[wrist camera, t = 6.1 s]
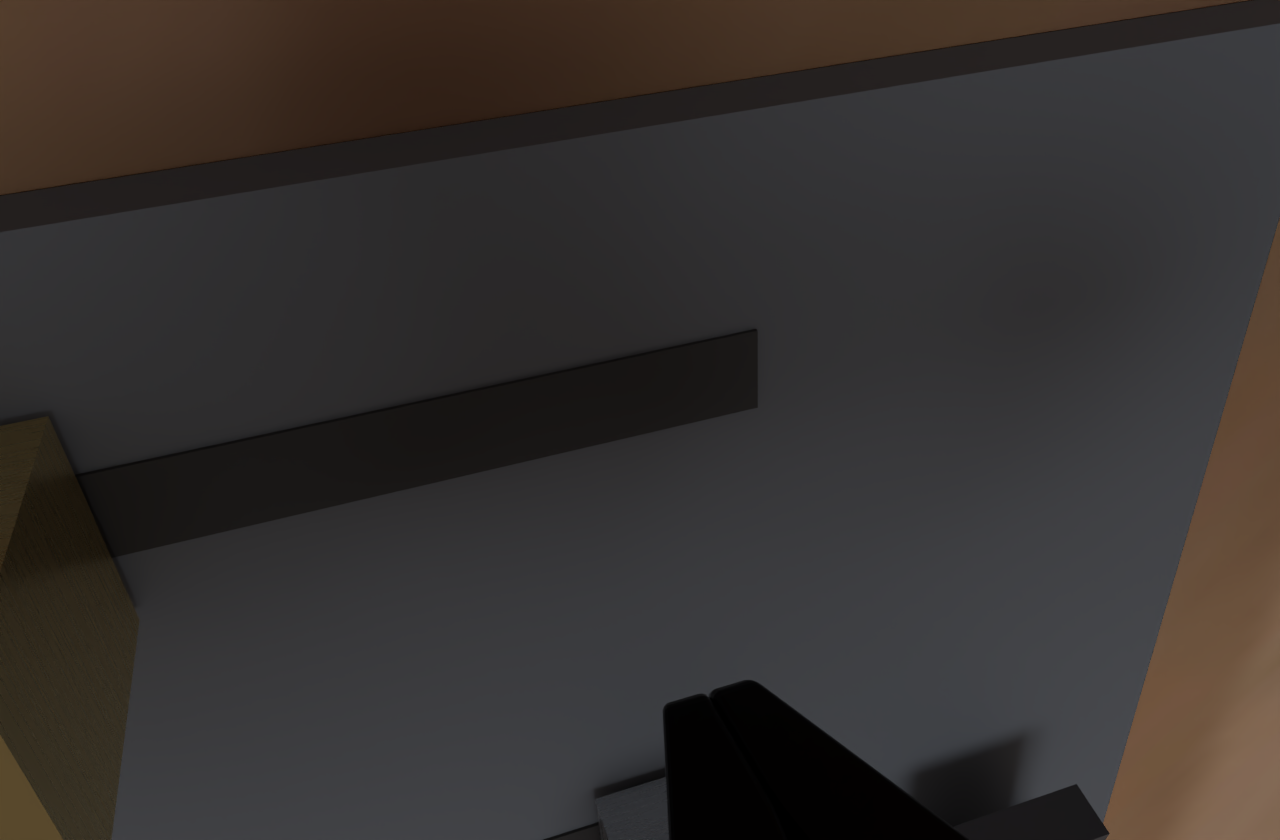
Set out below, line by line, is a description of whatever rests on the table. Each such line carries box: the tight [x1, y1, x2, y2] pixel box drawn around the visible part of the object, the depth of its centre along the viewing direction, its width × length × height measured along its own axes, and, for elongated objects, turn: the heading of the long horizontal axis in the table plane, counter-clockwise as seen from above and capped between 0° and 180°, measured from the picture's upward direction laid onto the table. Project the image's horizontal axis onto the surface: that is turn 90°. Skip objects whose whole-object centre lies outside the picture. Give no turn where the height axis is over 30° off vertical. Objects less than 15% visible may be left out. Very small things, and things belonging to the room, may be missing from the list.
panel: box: [0, 0, 1280, 840], centre depth 17 cm, size 20×19×3 cm
